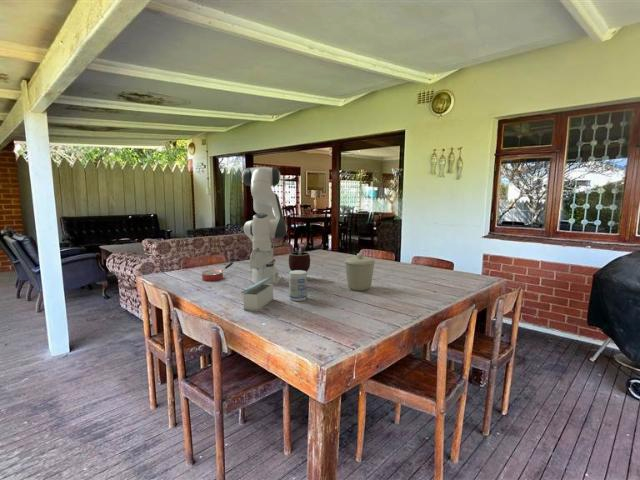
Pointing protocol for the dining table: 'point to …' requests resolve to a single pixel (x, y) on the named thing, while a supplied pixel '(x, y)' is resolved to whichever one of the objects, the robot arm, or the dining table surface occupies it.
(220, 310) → the dining table surface
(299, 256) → the brown utensil pot
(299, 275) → the supplement tub
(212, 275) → the frying pan
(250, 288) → the cover
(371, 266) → the canister
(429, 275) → the dining table surface
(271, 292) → the beige open box
